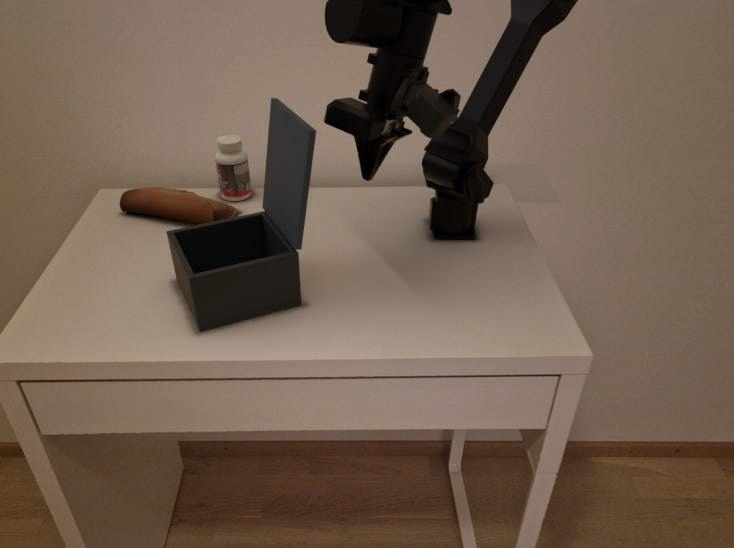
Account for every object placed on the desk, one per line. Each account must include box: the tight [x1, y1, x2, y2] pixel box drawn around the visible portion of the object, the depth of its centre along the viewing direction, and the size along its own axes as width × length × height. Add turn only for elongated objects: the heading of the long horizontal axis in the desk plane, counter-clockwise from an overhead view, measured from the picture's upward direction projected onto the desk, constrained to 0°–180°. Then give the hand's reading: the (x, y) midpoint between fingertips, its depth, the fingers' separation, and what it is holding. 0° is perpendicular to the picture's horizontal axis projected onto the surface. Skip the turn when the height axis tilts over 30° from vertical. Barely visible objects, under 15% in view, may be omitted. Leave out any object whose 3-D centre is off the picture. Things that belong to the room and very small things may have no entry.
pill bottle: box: [214, 134, 252, 202], centre depth 100 cm, size 5×5×10 cm
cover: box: [262, 97, 317, 251], centre depth 72 cm, size 14×13×1 cm
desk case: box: [165, 210, 303, 333], centre depth 77 cm, size 14×13×8 cm
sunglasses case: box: [119, 186, 239, 225], centre depth 97 cm, size 18×7×7 cm, turn 69°
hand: (366, 179), depth 78 cm, fingers closed
